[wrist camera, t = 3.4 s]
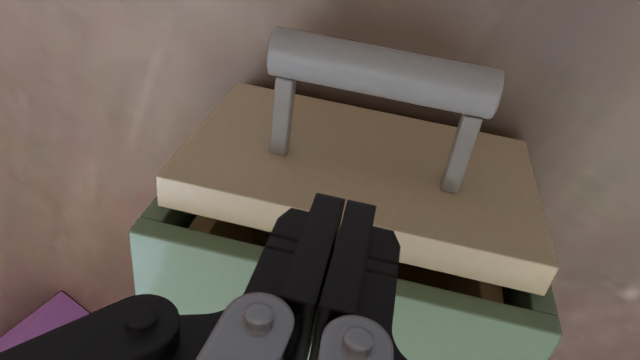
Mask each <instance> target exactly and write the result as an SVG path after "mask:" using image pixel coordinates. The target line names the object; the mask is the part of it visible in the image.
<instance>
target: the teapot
mask: <svg viewBox="0 0 640 360" xmlns="http://www.w3.org/2000/svg"><path fill="white" fill-rule="evenodd" d="M88 314H90V313H89V312H87V311H86V310H85V309H84V308H82V307H81V306H80V305H79V304H77V303H76V302H75V301H74V300H72V299H71V298H70V297H68V296H67V295H66V294H65V293H63V292H62V291H61V292H60V293H58V294H57V295H56V296H54V297H53V298H52V299H50V300H49V301H48V302H46V303H45V304H44V305H42V306H41V307H40V308H38V309H37V310H36V311H35V312H33V313H32V314H31V315H29V316H28V317H27V318H25V319H24V320H23V321H21V322H20V323H19V324H17V325H16V326H15V327H13V328H12V329H11V330H10V331H8V332H7V333H6V334H4V335H3V336H2V337H0V352H2V351H5V350H7V349H9V348H11V347H14V346H16V345H18V344H21V343H23V342H25V341H28V340H30V339H32V338H35V337H37V336H39V335H42V334H44V333H46V332H49V331H51V330H53V329H56V328H58V327H60V326H62V325H65V324H67V323H69V322H72V321H74V320H76V319H79V318H81V317H83V316H86V315H88Z"/></svg>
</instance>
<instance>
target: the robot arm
mask: <svg viewBox="0 0 640 360" xmlns="http://www.w3.org/2000/svg"><path fill="white" fill-rule="evenodd" d="M344 205H345V199H343V198H339V197H334V196H330V195H325V194H321V193H316V195H315V198H314V200H313V203H312V206H311V208H310V211H309V212H308V211H303V210H299V209H295V208H290V209H289V210H288V211H286V212H285V213H284V214H283V215H281V216H280V217H279V218H277V220H276V223H275V225H274V227H273V229H272V232H271V235H270V236H269V238H268V240H267V243H266V245H265V248H264V249H263V252H262V254H261V256H260V258H259V261H258V263H257V265H256V267H255V270H254V272H253V274H252V276H251V278H250V281H249V283H248V285H247V287H246V290H245V292H244V293H243V295H241V296H239V297H237V298H236V299H234V300H233V301H231V302H230V303H229V304H228V306H227V307H226V308H225V309H224V310H222V311H219V312H215V313H210V314H191V315H179V312H178V309H177V308H176V306H175V305H174V304H173V303H172V302H171V301H170V300H168V299H166V298H164V297H162V296H158V295H153V294H140V295H135V296H131V297H128V298H125V299H123V300H120V301H118V302H116V303H114V304H111V305H109V306H107V307H104V308H102V309H100V310H97V311H95V312H93V313H90V314H88V315H86V316H83V317H81V318H79V319H76V320H74V321H72V322H69V323H67V324H65V325H62V326H60V327H58V328H56V329H53V330H51V331H49V332H46V333H44V334H42V335H39V336H37V337H35V338H32V339H30V340H28V341H25V342H23V343H21V344H18V345H16V346H14V347H11V348H9V349H7V350H5V351H2V352H0V360H307V359H308V356H309V352H310V357H309V360H407V359H406V358H405V357H404V356H403V355H402V353H401V352H400V351H399V349H398V348H397V346H396V344H395V342H394V339H393V334H392V324H393V314H394V305H395V295H396V286H397V276H398V267H399V266H398V265H399V257H400V248H401V246H400V244H399V242H398V240H397V237H396V235H395V233H394V231H392V230H388V229H384V228H379V227H375V226H373V222H374V217H375V211H376V206H375V205H371V204H366V203H362V202H357V201H353V200H347V203H346V207H345V211H344V215H343V210H344ZM342 215H343V218H342ZM341 220H342V222H341ZM311 344H312V346H311ZM310 348H311V351H310Z"/></svg>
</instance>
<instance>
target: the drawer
mask: <svg viewBox="0 0 640 360" xmlns="http://www.w3.org/2000/svg"><path fill="white" fill-rule="evenodd" d="M267 71H268V73H269V74H270V75H273V76H277V77H276V79H275V88H274V90H273V89H268V88H263V87H258V86H254V85H249V84H244V83H238V84H237V85H236V86H235V87H234V88H233V89H232V90H231V92H230V93H229V94H228V95H227V96H226V97H225V98H224V99H223V101H222V102H221V103H220V104H219V105H218V106H217V107H216V109H215V110H214V111H213V112H212V113H211V114H210V115H209V116H208V118H207V119H206V120H205V121H204V122H203V123H202V124H201V126H200V127H199V128H198V129H197V130H196V131H195V132H194V133H193V135H192V136H191V137H190V138H189V139H188V140H187V141H186V143H185V144H184V145H183V146H182V147H181V148H180V149H179V150H178V152H177V153H176V154H175V155H174V156H173V157H172V158H171V160H170V161H169V162H168V163H167V164H166V165H165V166H164V167H163V169H162V170H161V171H160V172H159V173H158V174H157V175H156V185H157V200H158V206H161V207H166V208H170V209H174V210H179V211H183V212H187V213H191V214H196V215H197V216H196V218H195V219H194V220H193V222H192V223H191V225H190V226H189V228H188V229H192V230H196V231H200V232H204V233H209V234H213V235H217V236H221V237H225V238H230V239H234V240H238V241H242V242H246V243H251V244H255V245H259V246H263V247H265V245H266V243H267V240H268V238H269V236H270V235H271V232H272V229H273V227H274V225H275V223H276V220H277V218H279V217H280V216H281V215H283V214H284V213H285V212H286V211H288V210H289V209H290V208H295V209H299V210H303V211H308V212H309V211H310V208H311V206H312V203H313V200H314V198H315V195H316V193H321V194H325V195H330V196H334V197H339V198H343V199H345V205H344V210H343V215H344V211H345V207H346V203H347V200H353V201H357V202H362V203H366V204H371V205H375V206H376V211H375V217H374V222H373V226H375V227H379V228H384V229H388V230H392V231H394V233H395V235H396V237H397V240H398V242H399V244H400V246H401V248H400V257H399V265H398V266H399V267H398V276H397V278H398V279H402V280H407V281H411V282H415V283H419V284H423V285H428V286H432V287H436V288H440V289H444V290H449V291H453V292H457V293H461V294H466V295H470V296H474V297H478V298H482V299H487V300H491V301H495V302H499V303H503V304H504V300H503V292H502V286H503V287H508V288H512V289H516V290H520V291H525V292H529V293H533V294H537V295H542V296H544V295H545V294H546V292H547V290H548V288H549V286H550V284H551V283H552V281H553V279H554V277H555V275H556V273H557V271H558V269H559V266H558V262H557V258H556V254H555V251H554V247H553V243H552V239H551V236H550V232H549V228H548V224H547V221H546V217H545V213H544V209H543V206H542V202H541V198H540V194H539V191H538V187H537V183H536V179H535V176H534V172H533V168H532V164H531V161H530V157H529V153H528V149H527V146H526V142H525V141H521V140H517V139H512V138H507V137H502V136H497V135H492V134H487V133H482V132H479V130H480V127H481V124H482V122H483V120H482V118H485V119H491V118H492V117H493V116H494V114H495V113H496V111H497V108H498V106H499V103H500V100H501V96H502V92H503V88H504V81H505V73H504V71H503V70H501V69H496V68H491V67H486V66H480V65H475V64H470V63H465V62H460V61H454V60H449V59H444V58H439V57H434V56H429V55H423V54H418V53H413V52H408V51H403V50H397V49H392V48H387V47H382V46H377V45H371V44H366V43H361V42H356V41H351V40H345V39H340V38H335V37H330V36H325V35H319V34H314V33H309V32H304V31H299V30H293V29H288V28H283V27H276V28H275V29H274V31H273V33H272V35H271V38H270V42H269V46H268V52H267ZM296 80H298V81H303V82H308V83H313V84H318V85H323V86H328V87H332V88H337V89H342V90H347V91H352V92H357V93H362V94H367V95H372V96H377V97H382V98H387V99H392V100H397V101H402V102H407V103H411V104H416V105H421V106H426V107H431V108H436V109H441V110H446V111H451V112H456V113H461V114H462V115H461V118H460V121H459V124H458V127H453V126H448V125H444V124H439V123H434V122H429V121H424V120H419V119H414V118H409V117H405V116H400V115H395V114H390V113H385V112H380V111H375V110H370V109H366V108H361V107H356V106H351V105H346V104H341V103H336V102H332V101H327V100H322V99H317V98H312V97H307V96H302V95H297V94H295V90H296ZM343 215H342V218H343ZM341 222H342V220H341Z"/></svg>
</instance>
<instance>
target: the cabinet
mask: <svg viewBox="0 0 640 360" xmlns="http://www.w3.org/2000/svg"><path fill="white" fill-rule="evenodd" d="M196 216H197V215H196V214H191V213H187V212H183V211H179V210H174V209H170V208H166V207H161V206H158V200H157V197H156V198H155V199H154V201H153V202H152V203H151V204H150V205H149V207H148V208H147V209H146V210H145V212H144V213H143V214H142V215H141V218H139V219H138V220H137V221H136V223H135V224H134V225H133V226H132V227H131V229H130V230H129V241H130V250H131V259H132V269H133V278H134V287H135V295H140V294H153V295H158V296H162V297H164V298H166V299H168V300H170V301H171V302H172V303H173V304H174V305H175V306H176V308H177V309H178V312H179V315H191V314H210V313H215V312H219V311H222V310H224V309H225V308H226V307H227V306H228V304H229V303H230V302H231V301H233V300H234V299H236V298H237V297H239V296H241V295H243V293H244V292H245V290H246V287H247V285H248V283H249V281H250V278H251V276H252V274H253V272H254V270H255V267H256V265H257V263H258V261H259V258H260V256H261V254H262V252H263V249H264V248H265V247H263V246H259V245H255V244H251V243H246V242H242V241H238V240H234V239H230V238H225V237H221V236H217V235H213V234H209V233H204V232H200V231H196V230H192V229H188V228H189V226H190V225H191V223H192V222H193V220H194V219H195V218H196ZM502 292H503V300H504V304H503V303H499V302H495V301H491V300H487V299H482V298H478V297H474V296H470V295H466V294H461V293H457V292H453V291H449V290H444V289H440V288H436V287H432V286H428V285H423V284H419V283H415V282H411V281H407V280H402V279H398V278H397V286H396V295H395V305H394V314H393V324H392V334H393V339H394V342H395V344H396V346H397V348H398V349H399V351H400V352H401V353H402V355H403V356H404V357H405V358H406V359H407V360H549V358H550V356H551V355H552V353H553V351H554V350H555V348H556V346H557V345H558V343H559V341H560V339H561V338H562V330H561V326H560V322H559V318H558V317H557V316H558V312H557V308H556V304H555V300H554V296H553V291H552V287H551V284H550V286H549V288H548V290H547V292H546V294H545V295H544V296H542V295H537V294H533V293H529V292H525V291H520V290H516V289H512V288H508V287H503V286H502ZM311 346H312V344H311ZM310 351H311V348H310ZM309 357H310V352H309V356H308V359H307V360H309Z"/></svg>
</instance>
